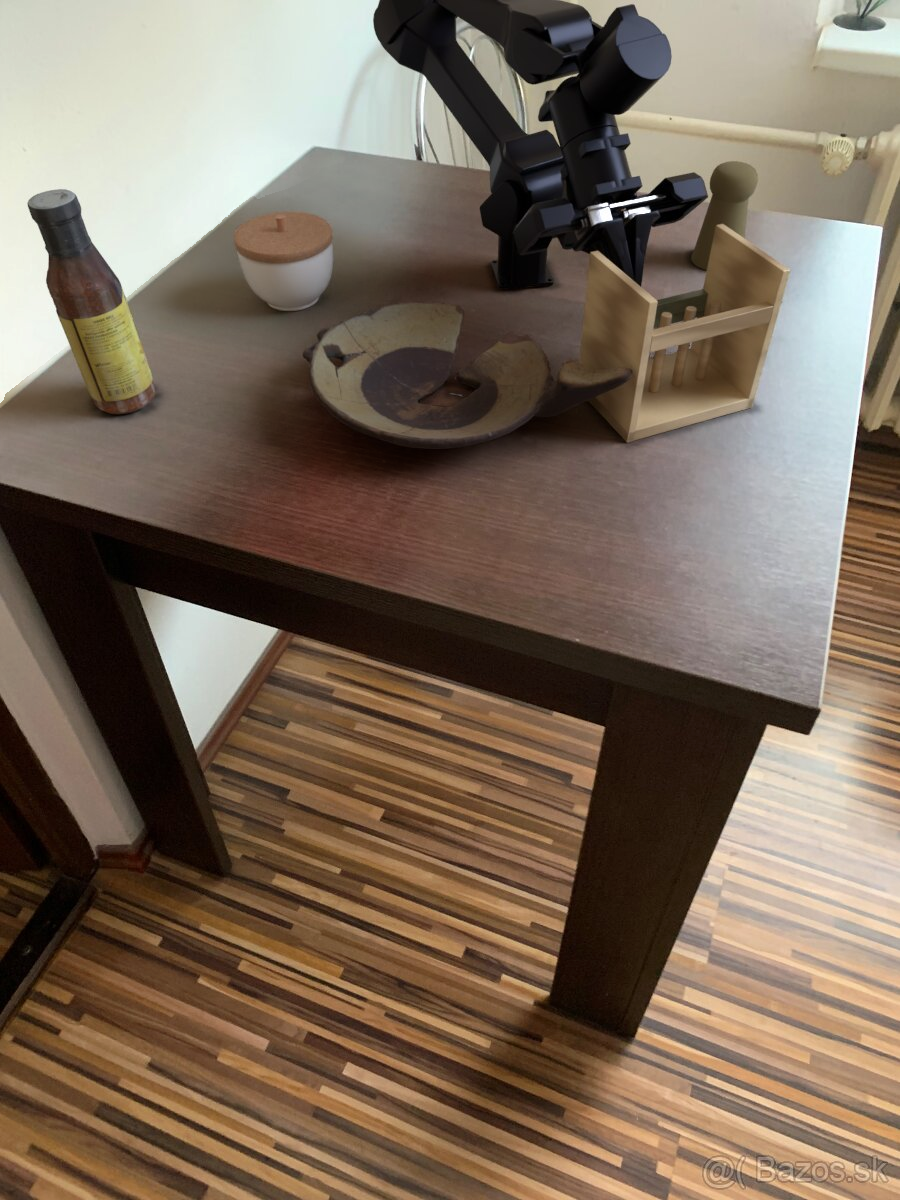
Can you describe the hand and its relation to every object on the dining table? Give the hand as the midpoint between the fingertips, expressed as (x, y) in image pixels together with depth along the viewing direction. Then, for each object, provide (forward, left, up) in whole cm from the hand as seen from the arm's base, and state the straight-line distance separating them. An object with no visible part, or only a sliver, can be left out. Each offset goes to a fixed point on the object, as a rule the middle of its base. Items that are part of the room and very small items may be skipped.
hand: (634, 298), depth 87 cm
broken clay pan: (+7, -19, -7) cm, 22 cm away
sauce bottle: (-1, -51, -7) cm, 52 cm away
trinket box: (-19, -34, -7) cm, 40 cm away
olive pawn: (-20, +17, -7) cm, 27 cm away
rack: (+7, +2, -7) cm, 10 cm away
